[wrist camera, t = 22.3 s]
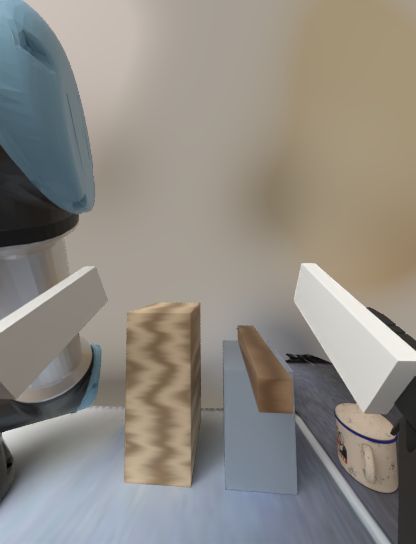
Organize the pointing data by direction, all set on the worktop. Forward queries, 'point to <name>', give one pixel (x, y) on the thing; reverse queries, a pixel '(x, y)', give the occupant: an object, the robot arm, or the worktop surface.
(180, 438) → the oak stand
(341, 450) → the teacup with lid
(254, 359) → the walnut bar
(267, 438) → the slate base
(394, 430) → the robot arm
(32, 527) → the worktop surface
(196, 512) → the worktop surface
